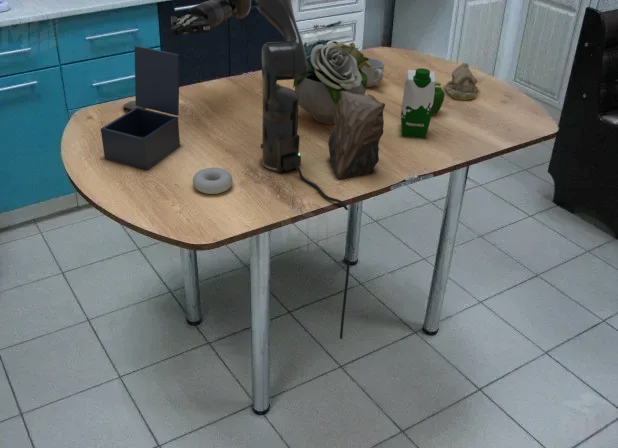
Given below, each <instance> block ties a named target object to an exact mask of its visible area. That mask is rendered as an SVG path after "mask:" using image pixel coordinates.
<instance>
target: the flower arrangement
mask: <svg viewBox="0 0 618 448" xmlns="http://www.w3.org/2000/svg"><path fill="white" fill-rule="evenodd" d="M303 46H304V49H305V53H306V58H307V72H306V74H305V76H304V77H303V78H300V79H293V86H292V87H293V88H292V89H294V91H295V92H297V94H298V96H299V107H301V108H302V109H303V110H304V111H305V112H307V113H308V114H309V115H310V116H311V115H312V116H313V117H314V120H315V121H317V122H319V123H321V124H328V125H329V124H331V125H334V111H335V108H336V105H337V104H338V102H339V100H340V92H341V91H348V92H351V93H352V94H361V95H365V96H366V91H367V90H368V89H367V88H368V87H367V80H368V78H367V76H366V74H364V73H363V72H362V71H361V68H362V67H364V66H365V67H368V68H369V67H371V64H370V63H369V62H367V61H368V60H369V58H370V57H368V58H367V56H365V55H364V53H363V52H362V51H361V50H359V49H358V48H356V44H355V42H351V43H348V44H346V43H344V42H339V41H336V40H334V41H332V39H327V40H326V39H318V40H316V41H315V42H312V43H309V44H308V42H307V41H304V43H303Z"/></svg>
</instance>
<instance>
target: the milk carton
mask: <svg viewBox="0 0 618 448" xmlns="http://www.w3.org/2000/svg"><path fill="white" fill-rule="evenodd" d="M436 83H437V82H436V73H435V71H431V70H429V69H427V68H423V67H421V68H417V69H407V74H406V77H405V80H404V87H403V95H402V102H401V110H400V124H401V125H400V126H401V136H402V137H404V138H405V137H406V138H415V139H416V138H417V139H427V134H428V131H429V127H430V123H431V119H432V115H431V113H432V107H433V101H434V94H435V87H437V86H436Z"/></svg>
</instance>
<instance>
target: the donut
mask: <svg viewBox="0 0 618 448" xmlns="http://www.w3.org/2000/svg"><path fill="white" fill-rule="evenodd" d="M193 175H194V176H193V177H192V185H193V187H194V189H196V190H197V191H199V192H201V193H203V194H206V195H217V194H221V193H222V194H223V193H224V192H226V191H228V190H229V189H230V188H231V186H232V185H233V176H232V174H231V172H229V171H227V170H226V169H224V168H221V167H205V168H202V169H199V170H198V171H197V172H196V173H195V174H193Z"/></svg>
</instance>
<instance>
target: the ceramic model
mask: <svg viewBox="0 0 618 448" xmlns="http://www.w3.org/2000/svg"><path fill="white" fill-rule="evenodd" d="M477 84H478V79H477V78H476V77H475V76H474V74H473V73H472V71H471V70H470V68H469V64H468V62H467V63H466V62H465V63H464V62H463V63H461V64H460V65H459V66H457V67H456V68H455V69H454V70H452V72H451V80H449V81H447V83H446V84H445V87H444V90H445V91H446V93H447V95H449V96H450V98H452V99H454V100H461V101H462V100H463V101H464V100H465V101H467V100H473V99H475V98H476V97H477V95H476V94H477V92H478V86H476V85H477Z"/></svg>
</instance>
